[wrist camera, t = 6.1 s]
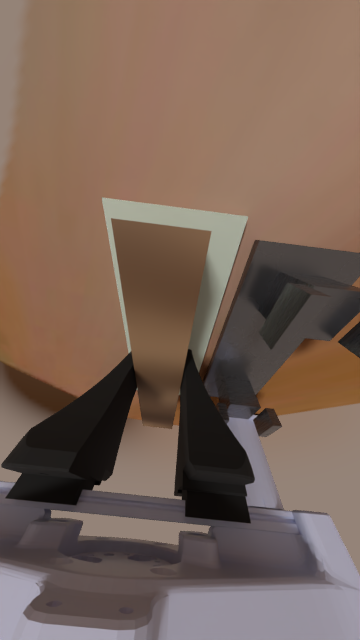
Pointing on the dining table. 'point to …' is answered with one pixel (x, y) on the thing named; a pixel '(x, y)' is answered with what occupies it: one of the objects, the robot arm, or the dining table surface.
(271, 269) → the rack
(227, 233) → the mat
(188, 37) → the dining table surface
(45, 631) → the robot arm
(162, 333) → the rail
